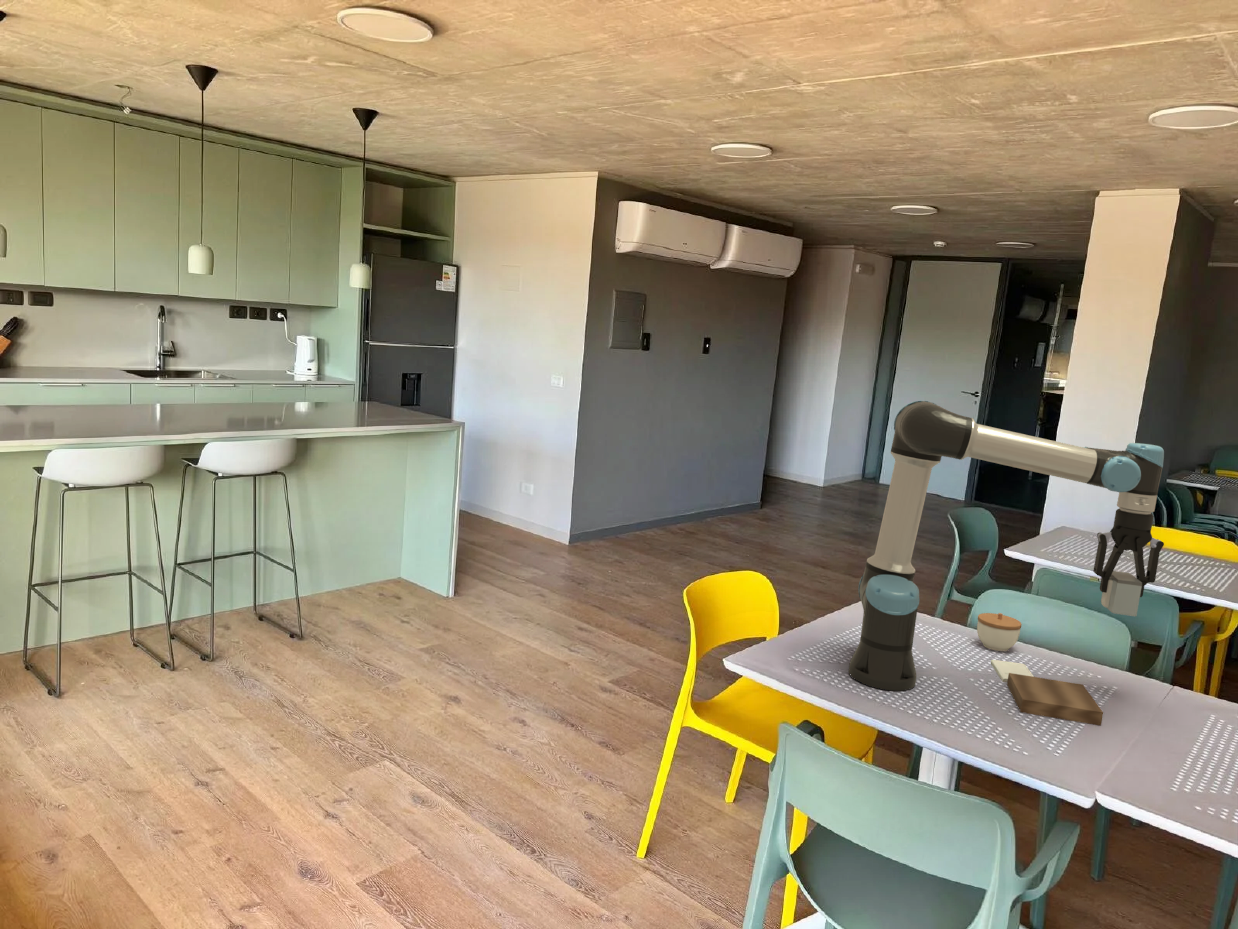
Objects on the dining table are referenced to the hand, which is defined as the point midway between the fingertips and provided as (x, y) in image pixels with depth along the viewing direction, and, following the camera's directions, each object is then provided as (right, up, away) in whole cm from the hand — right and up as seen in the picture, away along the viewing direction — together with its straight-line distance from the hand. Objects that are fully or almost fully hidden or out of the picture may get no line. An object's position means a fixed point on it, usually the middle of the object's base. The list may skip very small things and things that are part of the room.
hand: (1118, 607), depth 200 cm
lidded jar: (-16, -16, +28) cm, 36 cm away
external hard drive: (-20, -19, +9) cm, 29 cm away
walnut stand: (-19, -21, -8) cm, 29 cm away
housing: (0, 0, 0) cm, 0 cm away
